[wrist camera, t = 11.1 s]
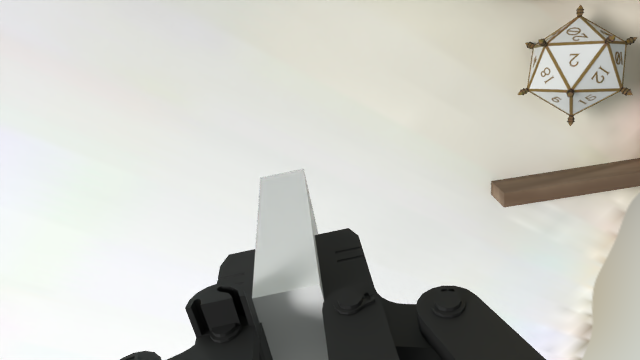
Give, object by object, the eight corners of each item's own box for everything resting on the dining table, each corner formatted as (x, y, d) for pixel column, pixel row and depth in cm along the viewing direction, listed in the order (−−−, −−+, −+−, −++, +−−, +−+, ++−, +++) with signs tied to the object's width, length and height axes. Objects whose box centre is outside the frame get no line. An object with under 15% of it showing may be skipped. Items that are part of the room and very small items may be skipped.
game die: (556, 79, 49) (489, 32, 44) (644, 27, 43) (577, -34, 38) (573, 153, 44) (500, 109, 40) (675, 107, 38) (603, 48, 34)
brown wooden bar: (492, -27, 42) (508, -27, 39) (690, -55, 42) (719, -57, 39) (491, 194, 50) (503, 207, 47) (656, 168, 50) (678, 179, 48)
